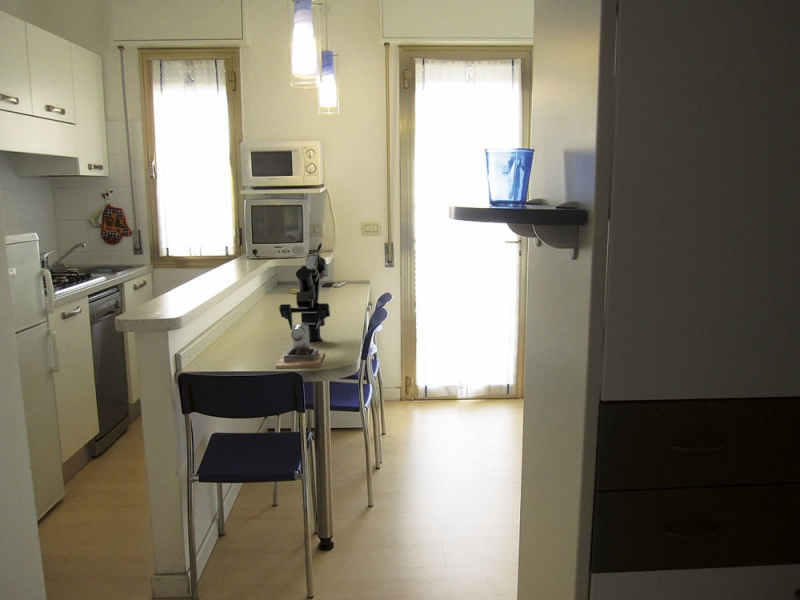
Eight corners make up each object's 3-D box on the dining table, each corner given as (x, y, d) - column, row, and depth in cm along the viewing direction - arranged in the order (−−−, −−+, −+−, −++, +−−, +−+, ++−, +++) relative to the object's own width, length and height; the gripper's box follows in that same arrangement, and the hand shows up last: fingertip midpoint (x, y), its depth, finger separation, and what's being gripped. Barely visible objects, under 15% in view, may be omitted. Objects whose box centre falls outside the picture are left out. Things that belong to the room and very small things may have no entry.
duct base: (284, 354, 242) (284, 347, 242) (324, 354, 242) (324, 346, 242) (275, 368, 225) (275, 359, 224) (318, 367, 224) (317, 359, 224)
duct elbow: (294, 355, 238) (293, 323, 236) (310, 354, 238) (309, 322, 236) (290, 362, 228) (288, 329, 226) (306, 362, 228) (305, 328, 226)
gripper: (278, 283, 242) (274, 317, 233) (328, 282, 242) (325, 317, 233) (283, 299, 251) (279, 333, 242) (331, 299, 251) (329, 333, 242)
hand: (303, 329), depth 240 cm, fingers open, 9 cm apart
